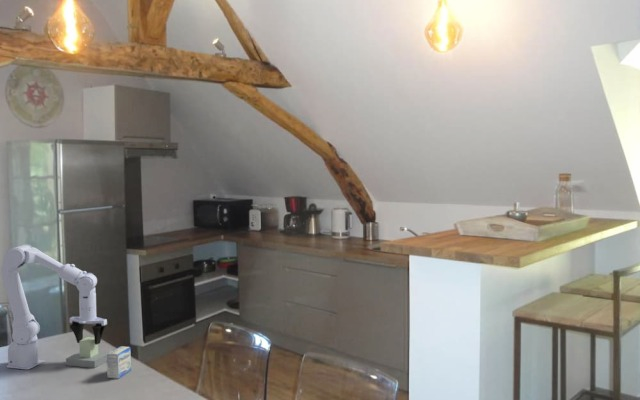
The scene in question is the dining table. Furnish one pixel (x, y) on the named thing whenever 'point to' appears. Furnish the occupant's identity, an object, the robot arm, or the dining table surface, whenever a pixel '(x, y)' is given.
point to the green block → (88, 347)
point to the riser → (87, 360)
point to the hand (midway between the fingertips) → (88, 342)
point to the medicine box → (118, 362)
